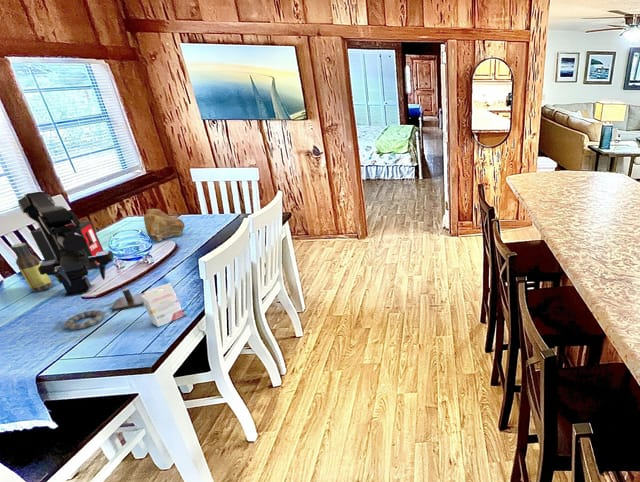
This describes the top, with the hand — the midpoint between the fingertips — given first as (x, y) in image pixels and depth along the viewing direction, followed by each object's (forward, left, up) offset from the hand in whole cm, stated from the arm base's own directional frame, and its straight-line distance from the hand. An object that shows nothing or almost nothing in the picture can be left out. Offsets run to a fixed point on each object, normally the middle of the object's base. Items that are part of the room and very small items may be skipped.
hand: (87, 282), depth 142 cm
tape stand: (+9, +1, -12) cm, 15 cm away
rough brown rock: (+10, +74, -12) cm, 76 cm away
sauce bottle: (-26, +30, -12) cm, 42 cm away
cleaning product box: (-19, +48, -12) cm, 53 cm away
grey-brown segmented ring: (-2, -8, -11) cm, 14 cm away
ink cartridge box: (+24, -19, -12) cm, 33 cm away
